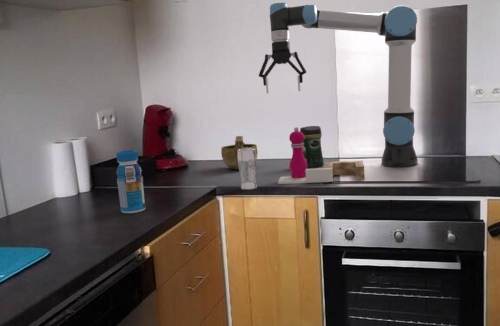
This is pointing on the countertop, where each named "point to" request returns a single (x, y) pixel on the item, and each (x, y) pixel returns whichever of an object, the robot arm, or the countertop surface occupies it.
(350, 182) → the countertop surface
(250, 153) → the beer glass
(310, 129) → the coffee jar
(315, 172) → the white rectangular block
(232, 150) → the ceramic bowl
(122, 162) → the beverage bottle
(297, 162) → the pepper mill
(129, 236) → the countertop surface
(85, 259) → the countertop surface
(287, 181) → the plate
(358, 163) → the block
